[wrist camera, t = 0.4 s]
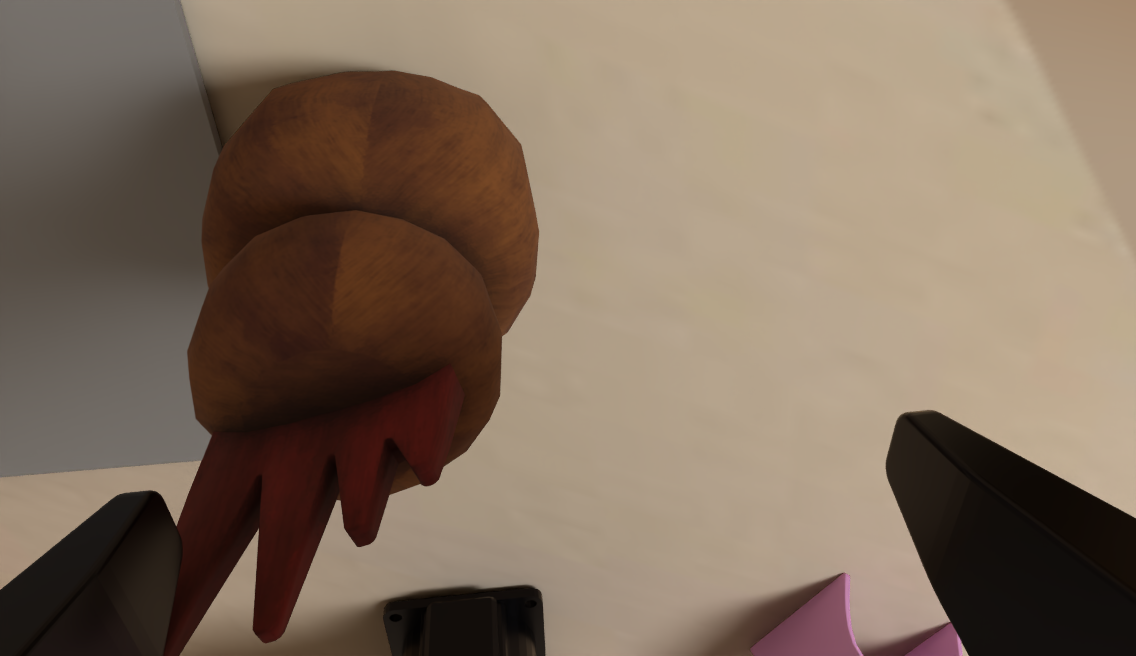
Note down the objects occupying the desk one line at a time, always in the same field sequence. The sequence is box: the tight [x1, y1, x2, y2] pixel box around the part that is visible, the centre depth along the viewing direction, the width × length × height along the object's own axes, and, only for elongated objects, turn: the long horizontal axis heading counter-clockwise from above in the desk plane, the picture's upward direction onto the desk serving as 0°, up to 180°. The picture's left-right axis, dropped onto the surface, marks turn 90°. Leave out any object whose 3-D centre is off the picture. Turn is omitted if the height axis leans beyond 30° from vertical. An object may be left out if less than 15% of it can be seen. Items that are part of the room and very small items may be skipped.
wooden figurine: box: [163, 71, 539, 656], centre depth 14 cm, size 7×6×15 cm
